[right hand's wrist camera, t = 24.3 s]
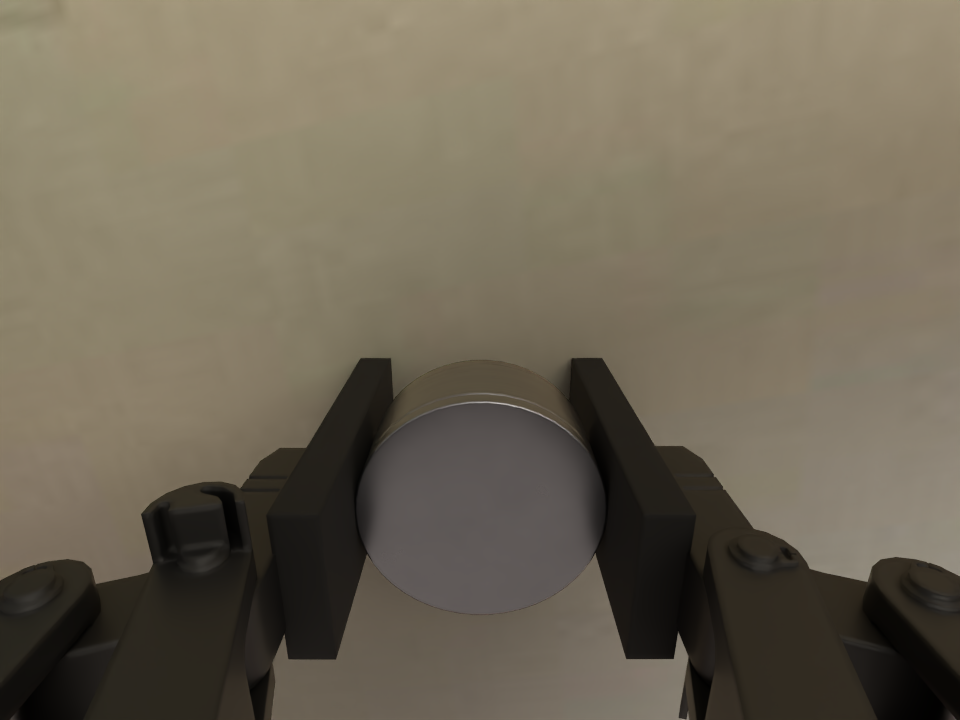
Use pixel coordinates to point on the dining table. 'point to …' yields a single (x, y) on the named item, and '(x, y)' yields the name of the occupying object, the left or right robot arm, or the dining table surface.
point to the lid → (480, 490)
